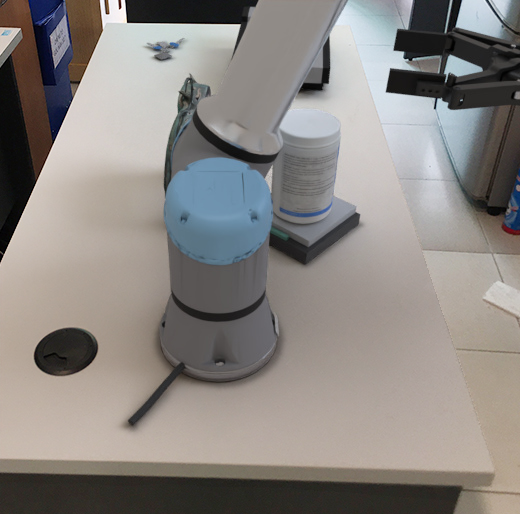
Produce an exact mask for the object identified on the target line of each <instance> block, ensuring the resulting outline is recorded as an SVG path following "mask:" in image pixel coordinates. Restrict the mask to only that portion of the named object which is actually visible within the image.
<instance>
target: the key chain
mask: <svg viewBox="0 0 520 514" xmlns="http://www.w3.org/2000/svg"><path fill="white" fill-rule="evenodd" d="M183 40H185V37H182V38H180V39H179V40H177V41H176V42H173V41H171V42H169V44H168V43H166V42H165V41H156V44H158V45H156V44H154V43H150V42H146V45H148V46H151V47H152V49H155V50H160V51H161V52H159V53H156V54H154V57H156V58H158V59H159V60H165V59H169V58H172V57H173V55H172V54H170V53H168V52H170V51H171V49H173V48H179V47H180V44H179V43H181V42H182V41H183ZM170 46H171V47H170Z"/></svg>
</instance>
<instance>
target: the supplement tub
mask: <svg viewBox="0 0 520 514" xmlns="http://www.w3.org/2000/svg"><path fill="white" fill-rule="evenodd" d="M341 127H342V124H341V121H340V119H339V118H338V117H337V116H336V115H334V114H332V113H331V112H328V111H326V110H322V109H317V108H306V107H305V108H294V109H289V110H288V112H287V114H286V116H285V117H284V119H283V121H282V123H281V125H280V127H279V130H280V133H281V136H282V138H283V146H282V149H281V150H280V152H279V154H278V156H277V158H276V159H275V161H274V163H273V165H272V167H271V168H272V169H271V170H272V171H271V189H270V193H271V200H272V206H273V211H274V213H275V214H276V215H277V216H279V217H280V218H282V219H284V220H286V221H289V222H292V223H297V224H308V223H314V222H317V221H320V220H322V219H324V218H325V217H326V216H327V215H328V214H329V213H330V211H331V208H332V201H333V196H334V195H335V194H334V193H335V185H336V177H337V169H338V162H339V153H340V146H341V137H342V136H341V134H342V132H341V130H342V129H341Z"/></svg>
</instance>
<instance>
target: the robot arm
mask: <svg viewBox="0 0 520 514" xmlns="http://www.w3.org/2000/svg"><path fill="white" fill-rule="evenodd" d="M348 2H349V0H258V1H257V3H256V5H255V6H254V7H255V10H254V12H253V14H252V16H251V18H250V21H249V23H248V25H247V27H246V29H245V32H244V34H243V36H242V38H241V40H240V43H239V45H238V47H237V49H236V51H235V54H234V56H233V58H232V57H231V59H232V60H230V63H229V65H228V67H227V69H226V71H225V74H224V76H223V78H222V79H221V83H220V85H219V86H218V89H217V91H216V93H215V94H211V96H208V97H205V98H203V99H201V100H200V101H199V103H198V105H197V107H196V109H195V111H194V114H193V116H192V118H190V119H189V120H188V121H187V122H186V123H185V124H184V126H183V127H182V128H181V130H180V131H179V133H178V135H177V137H176V139H175V142H174V145H173V148H172V153H171V170H172V174H171V181H170V183H169V185H168V188H167V191H166V197H165V196H164V204H163V221H164V224H165V228H166V239H167V240H166V241H167V255H168V268H169V282H170V285H169V286H170V295H169V298H168V301H167V304H166V306H165V309H164V312H163V314H162V318H161V319H160V324H159V340H160V347H161V351H162V353H163V355H164V357H165V358H166V360H167V362H168V363H169V364H170V365H171V366H172V367H173V370H171V372H170V373H169V375H167V377H166V378H165V379H164V380H163V381H162V382H161V383H160V384H159V386H158V387H156V389H155V390H154V391H153V392H152V394H151V395H150V396H149V397H148V399H146V401H145V402H144V403H143V404H142V405H141V407H139V408H138V409H137V410H136V411H135V413H133V414H132V415H131V416H130V417H129V418H128V419H127V422H128V424H129V425H131V426H133V427H134V426H135V425H136V424H137V423H138V422H139V421H140V420H141V419H142V418H143V417H144V416H145V415H146V414H147V413H148V412H149V411H150V409H151V408H152V407H153V406H154V405H155V404H156V402H157V401H159V399H160V398H161V396H162V395H163V394H164V393H165V392H166V390H167V389H168V388H169V387H170V386H171V385H172V383H174V381H175V380H176V379H177V378H178V377H179V376H180V375H181V373H182V374H184V375H186V376H189V377H191V378H193V379H197V380H201V381H206V382H215V383H217V382H218V383H219V382H220V383H221V382H230V381H236V380H240V379H244V378H246V377H249V376H251V375H253V374H255V373H256V372H258V371H259V370H261V369H262V368H263V367H264V366H266V365H267V363H269V362H270V360H271V358H272V357H273V355H274V353H275V351H276V347H277V341H278V337H280V329H279V328H280V327H279V318H278V316H277V314H276V312H275V311H273V310H272V307H271V303H270V301H269V297H268V295H267V282H268V281H267V280H268V268H269V251H270V244H269V237H270V229H271V224H272V219H273V206H272V200H271V189H270V187H269V184H268V182H267V180H266V177H267V176H268V173H269V172H270V171H271V168H273V163H274V161H275V159H276V158H277V156H278V154H279V152H280V150H281V149H282V146H283V138H282V136H281V133H280V130H279V127H280V125H281V123H282V121H283V119H284V117H285V116H286V114H287V112H288V111H290V109H291V106H292V104H293V103H294V101H295V100H296V97H297V95H298V94H299V92H300V90H301V89H300V88H301V86H302V84H303V82H304V81H305V79H306V77H307V75H308V73H309V71H310V70H311V68H312V66H313V64H314V62H315V60H316V59H317V57H318V55H319V53H320V51H321V49H322V48H323V46H324V44H325V42H326V40H327V38H328V37H329V35H330V36H331V33H332V31H333V29H334V28H335V25H336V24H337V22H338V20H339V18H340V16H341V14H342V13H343V11H344V9H345V7H346V5H347V3H348ZM392 52H401V53H412V54H419V55H420V54H422V55H429V56H430V55H431V56H438V57H439V56H440V57H441V58H443V59H444V58H448V57H450V56H452V57H454V58H457V59H458V60H459V59H460V60H462V61H464V62H467V63H469V64H472V65H474V66H476V67H479V68H481V71H477V72H473V73H468V74H464V75H458V76H457V75H456V74H454V73H453V72H450V71H449V72H448V74H447V73H440V72H432V71H431V72H430V71H422V70H412V69H402V68H393V67H390V68H389V71H388V78H387V82H386V88H385V93H386V94H396V95H405V96H412V97H413V96H414V97H420V98H421V97H422V98H429V99H438V100H441V101H442V102H444V103H447V109H448V110H449V111H461V110H470V109H480V108H481V109H483V108H491V107H492V108H493V107H502V106H503V107H504V106H518V107H519V106H520V41H514V40H507V39H504V38H499V37H496V36H492V35H488V34H484V33H480V32H477V31H474V30H469V29H466V28H461V27H458V26H456V27H453V28H452V30H451V31H448V32H437V31H428V30H427V31H426V30H417V29H406V28H397V29H396V34H395V40H394V45H393V50H392ZM273 312H274V313H273Z"/></svg>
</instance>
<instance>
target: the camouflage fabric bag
mask: <svg viewBox="0 0 520 514" xmlns="http://www.w3.org/2000/svg"><path fill="white" fill-rule="evenodd" d="M188 74H189V76H188V77H186V78H185V79H184V82H183V85H182V86H181V88H180V89H179V90H178V91H177V92H178V97H177V105H176V106H177V107H176V108H177V115H176V117H175V119H174V121H173V124H172V126H171V128H170V131H169V134H168V140H167V143H166V148H165V149H166V150H165V158H164V166H163V167H164V168H163V189H164V198H165V197H166V191H167V188H168V185H169V183H170V181H171V174H172V170H171V153H172V148H173V145H174V142H175V139H176V137H177V135H178V133H179V131H180V130H181V128H182V127H183V126H184V124H185V123H186V122H187V121H188V120H189V119H190V118H192V116H193V114H194V111H195V109H196V107H197V105H198V103H199V101H200V100H201V99H203V98H205V97H208V96H212V90H211V86H210V85H209V84H204V83H199V82H198V81H197V80H196V79H195V78H194V76H193V75H192V74H191V73H190V72H189V73H188Z"/></svg>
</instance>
